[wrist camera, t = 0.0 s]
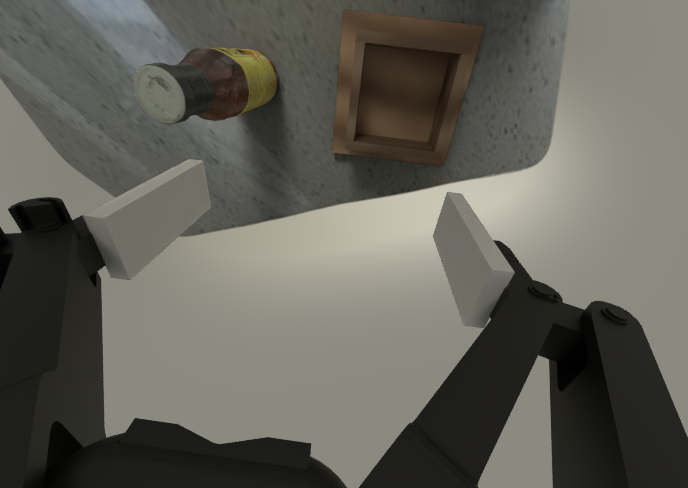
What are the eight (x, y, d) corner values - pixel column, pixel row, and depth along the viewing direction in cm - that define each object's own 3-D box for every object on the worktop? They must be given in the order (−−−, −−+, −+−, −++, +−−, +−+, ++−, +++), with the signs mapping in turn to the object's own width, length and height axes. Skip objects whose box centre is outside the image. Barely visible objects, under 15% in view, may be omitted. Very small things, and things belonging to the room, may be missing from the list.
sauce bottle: (265, 40, 35) (169, 21, 18) (288, 94, 38) (223, 118, 21) (223, 63, 37) (99, 63, 20) (247, 112, 40) (158, 148, 23)
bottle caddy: (344, 11, 33) (339, 1, 28) (481, 27, 32) (502, 20, 27) (333, 150, 42) (327, 162, 36) (441, 163, 41) (451, 178, 36)
